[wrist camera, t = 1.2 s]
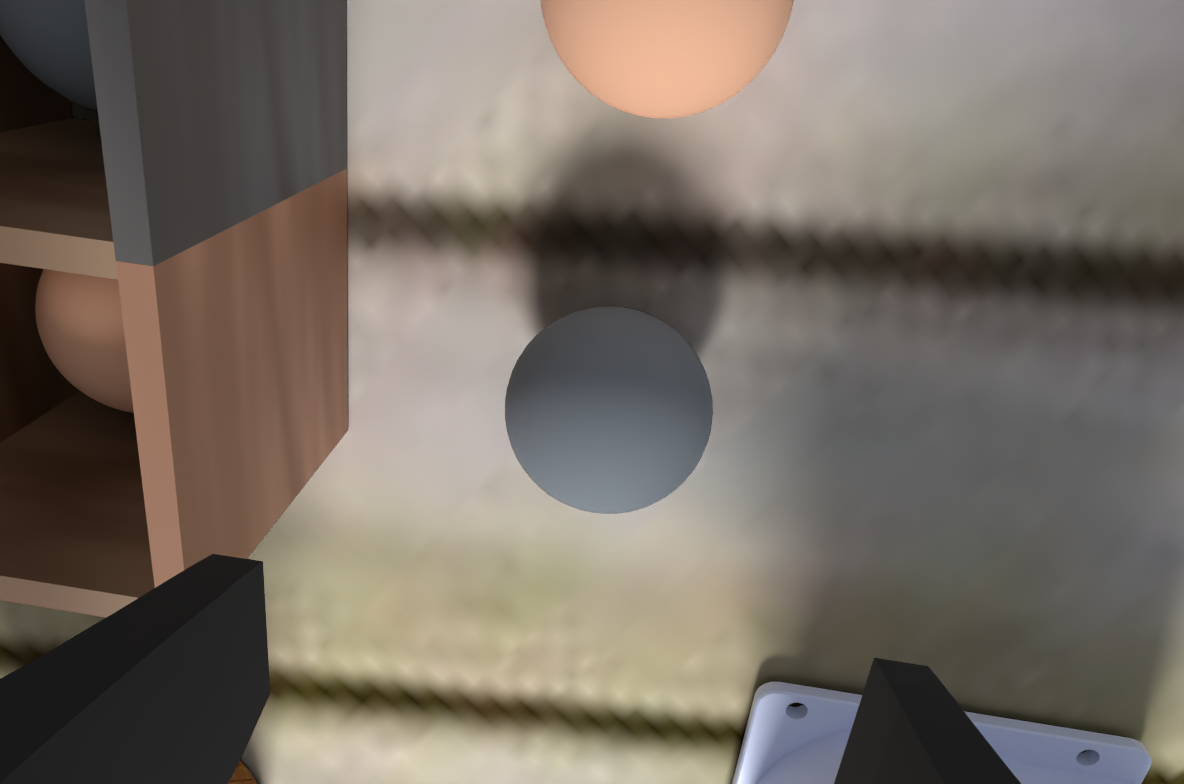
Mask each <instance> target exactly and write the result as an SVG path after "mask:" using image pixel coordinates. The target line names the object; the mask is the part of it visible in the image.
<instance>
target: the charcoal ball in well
mask: <svg viewBox="0 0 1184 784" xmlns="http://www.w3.org/2000/svg"><path fill="white" fill-rule="evenodd" d="M0 35H1V37H2V38H3V40H4V41H5V42H6V44H7V45H8V47H9V48H10V49H11V51H12V52H13V53H14V54H15V55H16V57H17V58H18V59H19V60H20V61H21V62H22V64H23V65H24V66H25V67H26V68H27V69H28V70H29V71H30V72H31V73H32V74H33V75H34V76H35V77H37V78H38V79H39V80H41V81H42V82H43V83H44V84H46V85H47V86H48V87H50V88H51V89H53V90H54V91H56V92H57V93H59V94H61V95H62V96H64V97H65V98H67V99H69V100H71V101H73V102H75V103H77V104H79V105H81V106H84V107H87V108H89V109H92V110H95V111H98V109H97V101H96V92H95V84H94V76H93V67H92V59H91V50H90V42H89V34H88V25H87V17H86V9H85V0H0Z"/></svg>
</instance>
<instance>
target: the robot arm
mask: <svg viewBox="0 0 1184 784" xmlns="http://www.w3.org/2000/svg"><path fill="white" fill-rule="evenodd" d="M269 694H270V684H269V666H268V648H267V630H266V612H265V594H264V576H263V562H262V561H256V560H250V559H243V558H237V557H231V556H224V555H218V554H212V555H210V556H208V557H206V558H204V559H203V560H201V561H199V562H197V563H196V564H194V565H192V566H190V567H189V568H187V569H185V570H184V571H182V572H180V573H179V574H177V575H175V576H174V577H172V578H170V579H169V580H167V581H165V582H164V583H162V584H161V585H159V586H157V587H156V588H154V589H152V590H151V591H149V592H148V593H146V594H144V595H143V596H141V597H139V598H138V599H136V600H134V601H133V602H131V603H130V604H128V605H126V606H125V607H123V608H121V609H120V610H118V611H117V612H115V613H113V614H112V615H110V616H108V617H106V618H105V619H103V620H101V621H100V622H98V623H96V624H95V625H93V626H91V627H90V628H88V629H86V630H85V631H83V632H81V633H80V634H78V635H76V636H75V637H73V638H71V639H70V640H68V641H66V642H65V643H63V644H61V645H60V646H58V647H56V648H55V649H53V650H51V651H50V652H48V653H46V654H44V655H43V656H41V657H39V658H38V659H36V660H34V661H32V662H30V663H28V664H27V665H25V666H23V667H21V668H19V669H17V670H16V671H14V672H12V673H10V674H8V675H7V676H5V677H3V678H1V679H0V784H228V782H229V780H230V779H231V777H232V775H233V773H234V771H235V769H236V767H237V765H238V763H239V761H240V759H241V756H242V754H243V752H244V750H245V748H246V746H247V744H248V742H249V740H250V737H251V735H252V733H253V731H254V728H255V726H256V724H257V722H258V719H259V717H260V715H261V712H262V710H263V708H264V706H265V703H266V701H267V699H268V697H269ZM792 703H802V704H803V705H801V706H799V707H791V706H789V705H790V704H792ZM1084 750H1089V751H1087V752H1084V753H1080V752H1082V751H1084ZM1151 762H1152V760H1151V757H1150V754H1149V753H1148V751H1147V749H1146V748H1145V746H1144V745H1143V744H1142V743H1141V742H1140V741H1138V740H1135V739H1132V738H1127V737H1121V736H1114V735H1108V734H1102V733H1096V732H1089V731H1083V730H1077V729H1071V728H1064V727H1058V726H1052V725H1046V724H1040V723H1033V722H1027V721H1021V720H1015V719H1008V718H1002V717H996V716H990V715H983V714H977V713H971V712H965V711H963V710H962V708H961V707H960V706H959V704H958V703H957V702H956V701H955V699H954V698H953V697H952V695H951V694H950V693H949V692H948V690H947V689H946V688H945V687H944V685H943V684H942V683H941V682H940V680H939V679H938V678H937V677H936V675H935V674H934V673H933V672H932V671H931V669H930V668H929V667H928V666H922V665H916V664H910V663H903V662H897V661H891V660H884V659H878V658H874V661H873V664H872V667H871V670H870V673H869V676H868V679H867V682H866V685H865V689H864V692H863V695H859V694H852V693H846V692H840V691H834V690H827V689H821V688H815V687H809V686H802V685H796V684H790V683H784V682H769V683H765V684H763V685H762V686H760V687H759V688H758V689H757V691H756V693H755V696H754V700H753V703H752V707H751V711H750V715H749V719H748V723H747V727H746V731H745V735H744V739H743V743H742V747H741V751H740V755H739V759H738V763H737V767H736V771H735V774H734V778H733V782H732V784H1141V783H1142V781H1143V780H1144V778H1145V776H1146V774H1147V772H1148V770H1149V768H1150V766H1151Z"/></svg>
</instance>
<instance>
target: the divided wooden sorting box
mask: <svg viewBox="0 0 1184 784" xmlns="http://www.w3.org/2000/svg"><path fill="white" fill-rule="evenodd" d="M85 9H86V17H87V25H88V34H89V42H90V50H91V59H92V67H93V76H94V84H95V92H96V101H97V109H98V117H99V122H96V121H88V120H81V119H74V118H72V116H71V108H70V101H69V99H67V98H65V97H64V96H62V95H61V94H59V93H57V92H56V91H54V90H53V89H51V88H50V87H48V86H47V85H46V84H44V83H43V82H42V81H41V80H39V79H38V78H37V77H35V76H34V75H33V74H32V73H31V72H30V71H29V70H28V69H27V68H26V67H25V66H24V65H23V64H22V62H21V61H20V60H19V59H18V58H17V57H16V55H15V54H14V53H13V52H12V51H11V49H10V48H9V47H8V45H7V44H6V42H5V41H4V40H3V38H2V37H1V35H0V600H1V601H7V602H13V603H20V604H26V605H32V606H38V607H44V608H50V609H56V610H63V611H69V612H75V613H81V614H87V615H93V616H100V617H108V616H110V615H112V614H113V613H115V612H117V611H118V610H120V609H121V608H123V607H125V606H126V605H128V604H130V603H131V602H133V601H134V600H136V599H138V598H139V597H141V596H143V595H144V594H146V593H148V592H149V591H151V590H152V589H154V588H156V587H157V586H159V585H161V584H162V583H164V582H165V581H167V580H169V579H170V578H172V577H174V576H175V575H177V574H179V573H180V572H182V571H184V570H185V569H187V568H189V567H190V566H192V565H194V564H196V563H197V562H199V561H201V560H203V559H204V558H206V557H208V556H210V555H212V554H218V555H224V556H231V557H237V558H243V559H247V558H248V557H249V556H250V554H251V553H252V552H253V551H254V549H255V548H256V547H257V546H258V544H259V543H260V542H261V540H262V539H263V538H264V537H265V535H266V534H267V533H268V532H269V530H270V529H271V528H272V526H273V525H274V524H275V523H276V521H277V520H278V519H279V518H280V516H281V515H282V514H283V512H284V511H285V510H286V509H287V507H288V506H289V505H290V504H291V502H292V501H293V500H294V498H295V497H296V496H297V495H298V493H299V492H300V491H301V490H302V488H303V487H304V486H305V484H306V483H307V482H308V481H309V479H310V478H311V477H312V475H313V474H314V473H315V472H316V470H317V469H318V468H319V467H320V465H321V464H322V463H323V461H324V460H325V459H326V458H327V456H328V455H329V454H330V453H331V451H332V450H333V449H334V447H335V446H336V445H337V444H338V442H339V441H340V440H341V439H342V437H343V436H344V435H345V433H346V432H347V431H348V290H347V51H346V0H85ZM43 269H48V270H55V271H62V272H69V273H75V274H82V275H89V276H96V277H103V278H110V279H117V280H118V284H119V293H120V301H121V310H122V318H123V326H124V335H125V343H126V351H127V360H128V368H129V376H130V385H131V393H132V401H133V410H134V413H131V412H126V411H122V410H118V409H115V408H112V407H109V406H106V405H104V404H102V403H100V402H98V401H96V400H94V399H92V398H91V397H89V396H87V395H86V394H84V393H83V392H81V391H80V390H79V389H77V388H76V387H75V386H73V385H72V384H71V383H70V382H69V381H68V380H67V379H66V378H65V377H64V376H63V375H62V374H61V373H60V372H59V370H58V369H57V368H56V367H55V365H54V364H53V362H52V361H51V359H50V358H49V356H48V354H47V352H46V350H45V348H44V346H43V343H42V341H41V338H40V335H39V332H38V328H37V323H36V315H35V305H36V292H37V287H38V283H39V280H40V277H41V275H42V272H43Z"/></svg>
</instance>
